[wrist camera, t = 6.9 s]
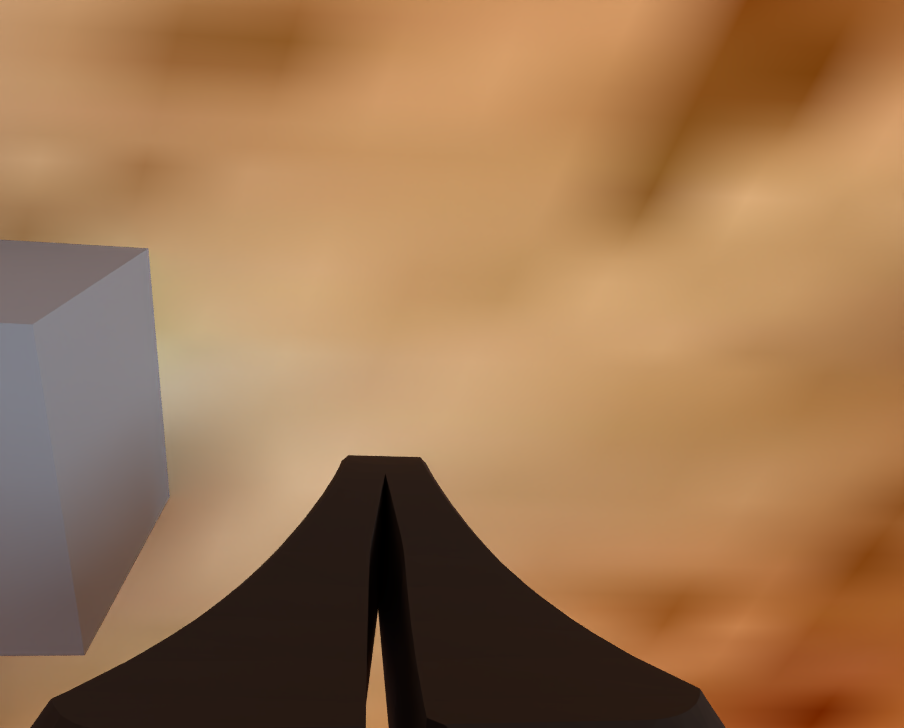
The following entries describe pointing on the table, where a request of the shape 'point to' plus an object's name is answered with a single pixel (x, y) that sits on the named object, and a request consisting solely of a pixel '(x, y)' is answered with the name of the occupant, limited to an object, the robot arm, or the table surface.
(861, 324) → the table surface
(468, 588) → the robot arm
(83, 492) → the slate block
